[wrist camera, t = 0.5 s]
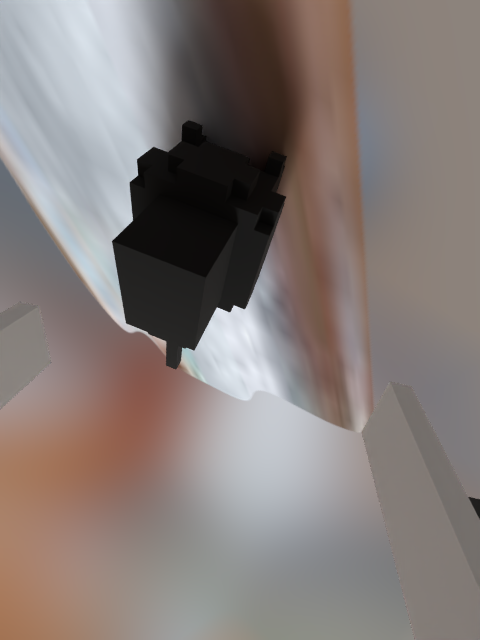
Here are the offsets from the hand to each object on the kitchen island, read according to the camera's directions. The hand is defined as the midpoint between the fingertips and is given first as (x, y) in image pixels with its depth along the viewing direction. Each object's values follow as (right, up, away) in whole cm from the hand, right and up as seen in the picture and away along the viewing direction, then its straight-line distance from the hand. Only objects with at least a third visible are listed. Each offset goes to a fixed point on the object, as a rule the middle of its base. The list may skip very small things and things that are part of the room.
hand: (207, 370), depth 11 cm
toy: (0, +9, +11) cm, 14 cm away
